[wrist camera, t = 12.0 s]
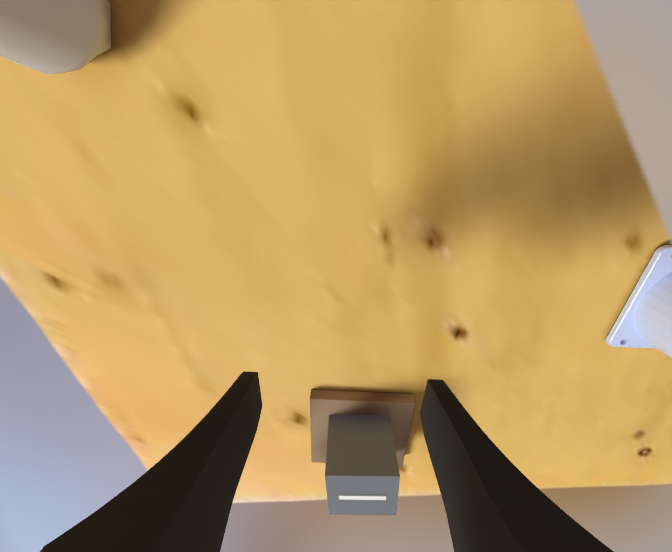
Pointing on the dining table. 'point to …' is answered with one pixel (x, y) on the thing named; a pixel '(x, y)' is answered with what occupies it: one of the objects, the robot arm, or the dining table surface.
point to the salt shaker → (54, 33)
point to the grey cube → (361, 465)
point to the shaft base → (359, 404)
